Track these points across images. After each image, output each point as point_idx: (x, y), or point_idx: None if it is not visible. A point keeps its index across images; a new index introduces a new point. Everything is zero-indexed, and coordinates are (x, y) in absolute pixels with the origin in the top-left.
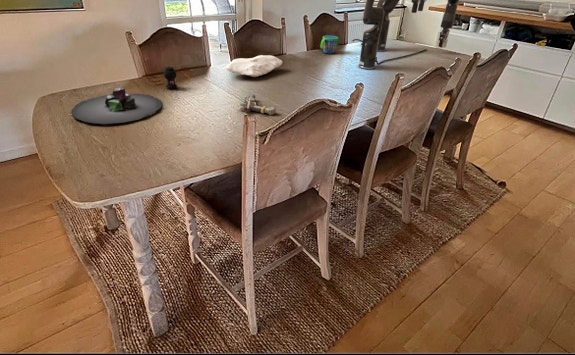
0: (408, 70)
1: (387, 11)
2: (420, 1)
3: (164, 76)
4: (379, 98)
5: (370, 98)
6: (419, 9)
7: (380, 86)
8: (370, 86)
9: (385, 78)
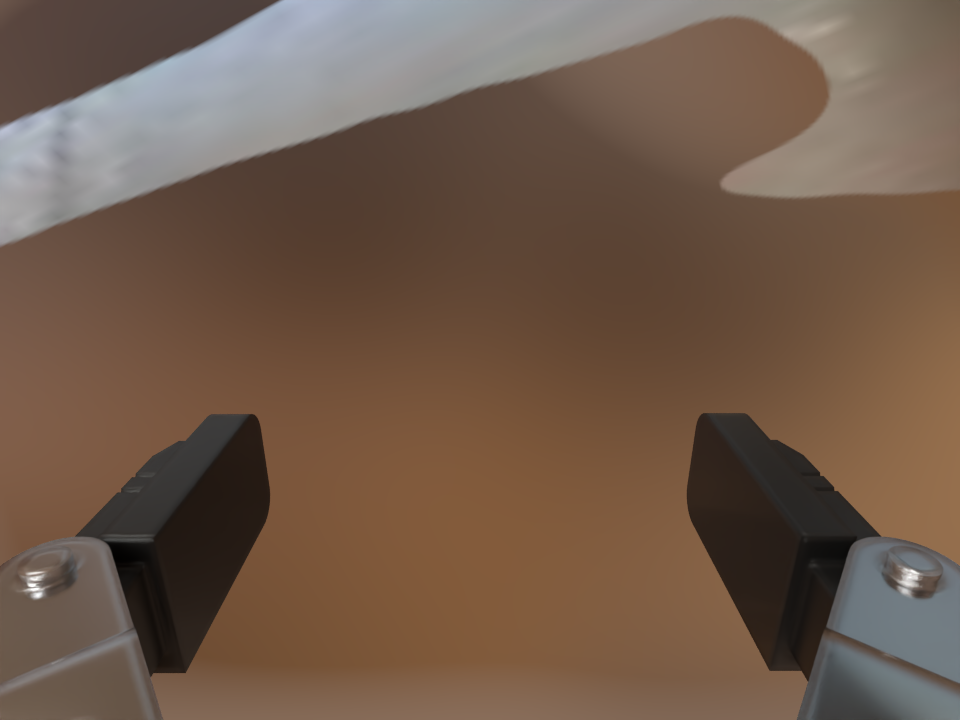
0: (950, 82)
1: None
2: (821, 586)
3: None
4: (143, 183)
5: (92, 134)
6: (708, 461)
7: (373, 75)
8: (314, 8)
9: (595, 15)
